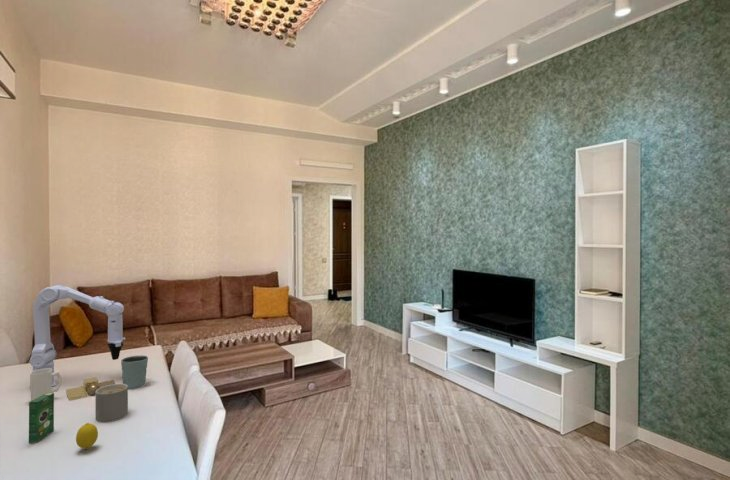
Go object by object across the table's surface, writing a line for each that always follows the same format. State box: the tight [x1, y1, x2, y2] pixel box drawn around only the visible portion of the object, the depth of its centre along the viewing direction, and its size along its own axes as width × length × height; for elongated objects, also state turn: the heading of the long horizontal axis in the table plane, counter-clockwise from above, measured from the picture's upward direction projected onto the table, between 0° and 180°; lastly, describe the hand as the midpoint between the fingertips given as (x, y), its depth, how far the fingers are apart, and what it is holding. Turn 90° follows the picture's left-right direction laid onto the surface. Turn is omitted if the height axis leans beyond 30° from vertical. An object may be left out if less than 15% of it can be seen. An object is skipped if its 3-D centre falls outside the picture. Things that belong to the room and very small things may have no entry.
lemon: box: [75, 422, 99, 450], centre depth 121 cm, size 6×6×8 cm
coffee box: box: [28, 392, 55, 444], centre depth 129 cm, size 8×3×13 cm, turn 6°
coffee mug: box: [94, 383, 129, 423], centre depth 145 cm, size 13×10×10 cm
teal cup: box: [120, 355, 149, 391], centre depth 173 cm, size 10×10×12 cm
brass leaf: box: [65, 377, 99, 401], centre depth 165 cm, size 12×11×4 cm
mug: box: [29, 368, 63, 401], centre depth 157 cm, size 10×7×12 cm, turn 124°
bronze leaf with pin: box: [87, 379, 116, 396], centre depth 169 cm, size 12×10×4 cm
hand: (115, 359), depth 180 cm, fingers closed
